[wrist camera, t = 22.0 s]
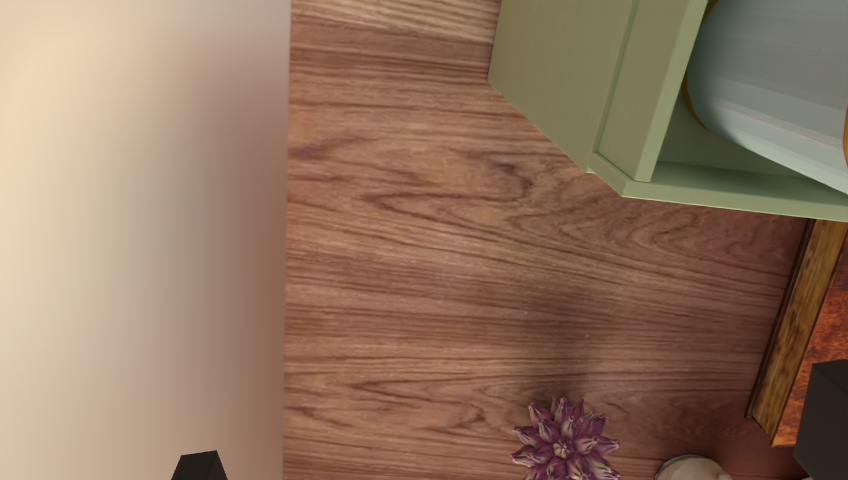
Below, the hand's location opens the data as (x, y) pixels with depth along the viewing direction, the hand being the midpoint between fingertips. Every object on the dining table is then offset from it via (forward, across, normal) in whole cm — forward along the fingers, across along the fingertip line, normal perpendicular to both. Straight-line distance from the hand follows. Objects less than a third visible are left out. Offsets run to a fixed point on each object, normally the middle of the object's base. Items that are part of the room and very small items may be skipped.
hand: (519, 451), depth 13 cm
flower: (+41, +11, -38) cm, 57 cm away
